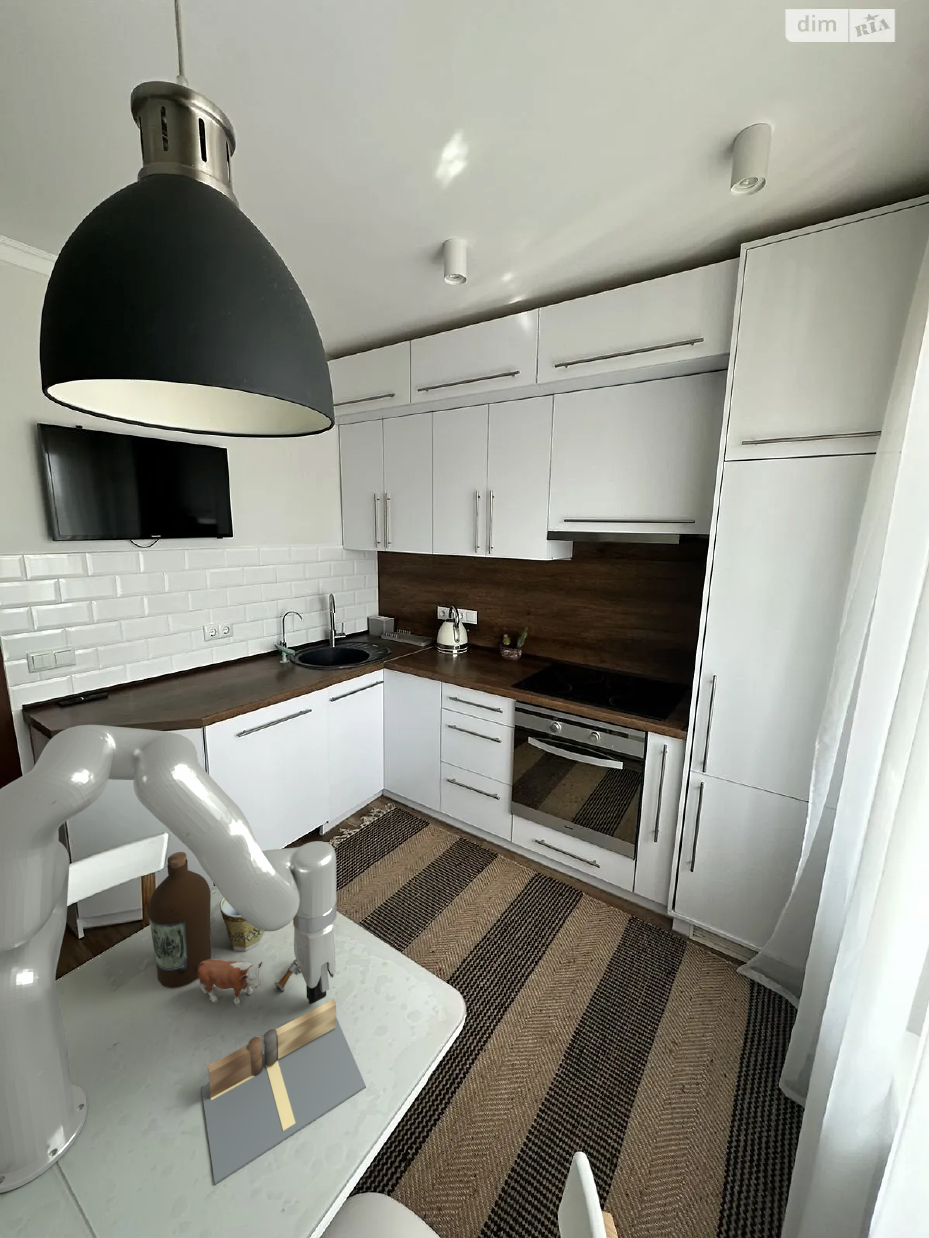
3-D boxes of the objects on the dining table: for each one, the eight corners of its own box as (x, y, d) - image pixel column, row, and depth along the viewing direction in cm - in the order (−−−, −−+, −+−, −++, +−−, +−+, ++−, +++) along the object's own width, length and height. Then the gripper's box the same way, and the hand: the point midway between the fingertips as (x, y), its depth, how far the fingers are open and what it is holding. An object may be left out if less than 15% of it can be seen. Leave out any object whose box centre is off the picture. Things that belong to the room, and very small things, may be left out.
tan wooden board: (266, 1068, 81) (265, 1043, 80) (263, 1057, 83) (262, 1032, 82) (336, 1028, 88) (336, 1005, 87) (333, 1019, 89) (332, 996, 88)
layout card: (215, 1184, 67) (214, 1182, 67) (201, 1088, 78) (201, 1086, 78) (365, 1087, 79) (365, 1085, 79) (335, 1016, 91) (335, 1014, 91)
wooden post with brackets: (316, 956, 102) (309, 946, 100) (288, 997, 96) (279, 987, 94) (310, 952, 103) (303, 942, 101) (282, 993, 97) (273, 982, 95)
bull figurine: (257, 1016, 90) (256, 978, 89) (193, 999, 93) (191, 962, 91) (271, 994, 94) (270, 958, 93) (210, 979, 97) (207, 943, 96)
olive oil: (178, 942, 105) (170, 837, 101) (225, 948, 104) (219, 842, 100) (141, 987, 95) (130, 872, 90) (192, 994, 94) (184, 878, 89)
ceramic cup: (259, 960, 102) (257, 918, 100) (212, 956, 102) (209, 914, 100) (285, 912, 114) (284, 874, 113) (243, 909, 115) (242, 871, 113)
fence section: (211, 1101, 76) (209, 1072, 75) (209, 1088, 78) (207, 1061, 77) (263, 1071, 81) (262, 1044, 80) (261, 1060, 82) (259, 1034, 81)
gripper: (282, 894, 93) (285, 976, 96) (307, 950, 81) (309, 1042, 84) (321, 879, 97) (322, 959, 100) (350, 930, 85) (350, 1019, 88)
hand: (316, 997), depth 92 cm, fingers closed
